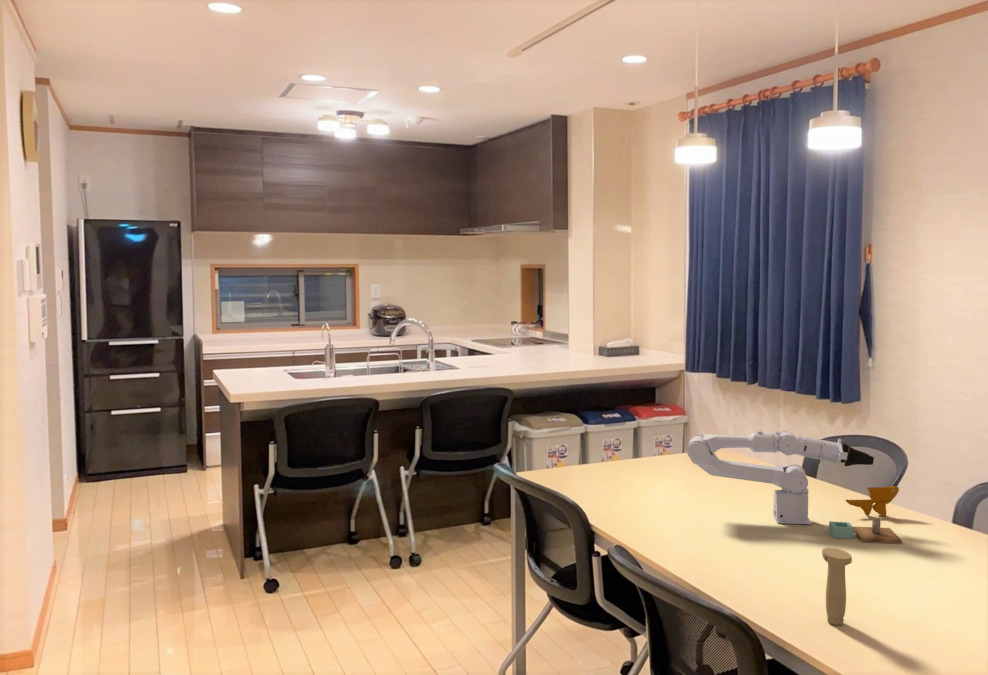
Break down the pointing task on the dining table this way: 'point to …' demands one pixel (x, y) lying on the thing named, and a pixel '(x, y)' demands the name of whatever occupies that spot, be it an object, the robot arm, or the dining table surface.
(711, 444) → the robot arm
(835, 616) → the handle
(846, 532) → the collar
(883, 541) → the post block
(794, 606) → the dining table surface
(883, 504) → the toy
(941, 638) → the dining table surface
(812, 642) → the dining table surface
